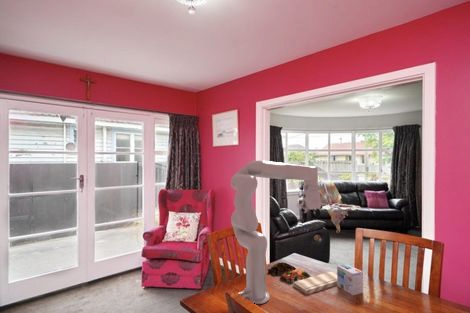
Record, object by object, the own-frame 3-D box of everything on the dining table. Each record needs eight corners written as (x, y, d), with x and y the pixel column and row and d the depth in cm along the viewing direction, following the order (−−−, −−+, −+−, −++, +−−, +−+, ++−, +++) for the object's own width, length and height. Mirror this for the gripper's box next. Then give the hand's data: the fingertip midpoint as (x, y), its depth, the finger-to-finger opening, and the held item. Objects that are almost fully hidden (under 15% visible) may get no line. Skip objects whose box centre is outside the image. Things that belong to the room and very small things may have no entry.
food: (262, 273, 152) (262, 266, 153) (283, 265, 164) (283, 259, 164) (292, 286, 135) (292, 279, 135) (313, 276, 147) (313, 270, 147)
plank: (306, 294, 126) (306, 290, 126) (293, 285, 135) (293, 281, 135) (346, 281, 139) (346, 277, 139) (331, 274, 148) (331, 271, 148)
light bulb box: (336, 286, 134) (336, 265, 135) (346, 283, 137) (346, 263, 137) (353, 295, 124) (352, 273, 125) (363, 293, 127) (362, 271, 127)
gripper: (303, 189, 137) (304, 222, 137) (327, 187, 145) (328, 218, 144) (294, 188, 144) (295, 219, 143) (317, 186, 151) (318, 215, 151)
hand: (311, 218), depth 144 cm, fingers open, 9 cm apart
